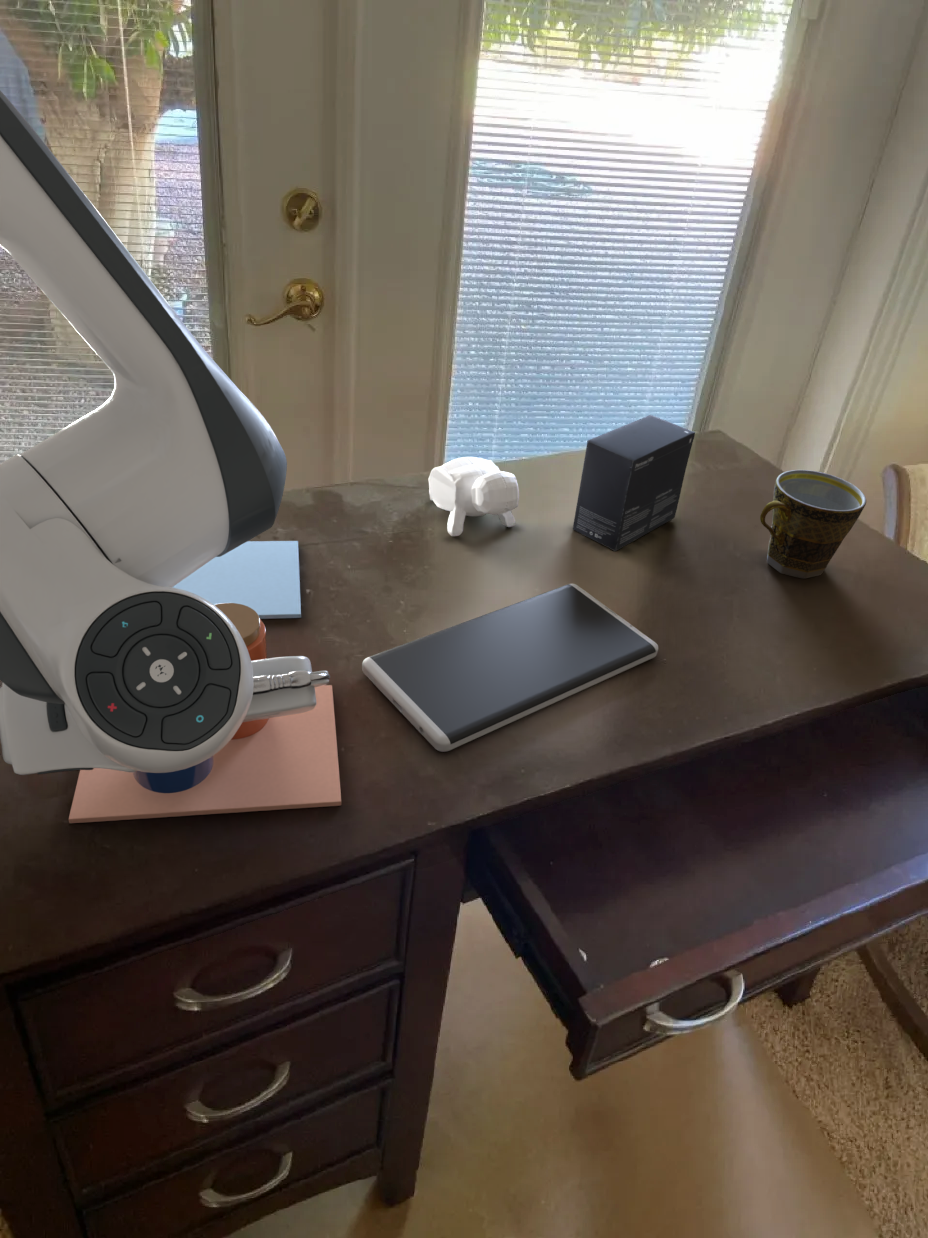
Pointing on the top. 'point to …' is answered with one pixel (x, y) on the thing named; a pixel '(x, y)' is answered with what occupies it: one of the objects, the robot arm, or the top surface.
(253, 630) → the terracotta jar
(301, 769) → the clay mat
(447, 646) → the smartphone
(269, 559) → the blue mat
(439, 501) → the white sheep figurine
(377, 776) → the top surface
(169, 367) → the robot arm
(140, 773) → the blue jar
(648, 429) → the small box
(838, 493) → the ceramic cup
